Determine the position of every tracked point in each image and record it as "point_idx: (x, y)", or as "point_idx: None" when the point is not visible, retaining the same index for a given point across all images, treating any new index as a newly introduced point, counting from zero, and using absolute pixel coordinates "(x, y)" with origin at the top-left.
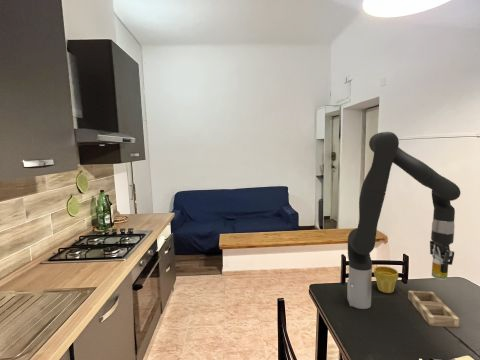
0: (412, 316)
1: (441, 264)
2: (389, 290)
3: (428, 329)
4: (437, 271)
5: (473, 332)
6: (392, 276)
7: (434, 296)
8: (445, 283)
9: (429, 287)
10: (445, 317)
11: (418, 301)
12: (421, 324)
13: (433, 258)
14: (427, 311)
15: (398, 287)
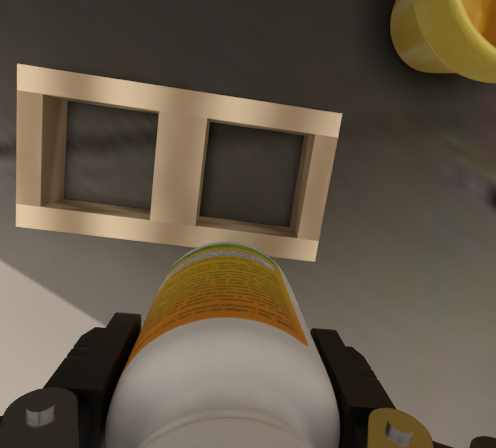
0: (128, 27)
1: (82, 380)
2: (395, 15)
3: (7, 46)
4: (168, 288)
5: (11, 259)
6: None
7: (260, 239)
8: (456, 409)
9: (427, 306)
10: (21, 157)
11: (200, 100)
12: (51, 34)
13: (365, 399)
14: (81, 87)
15: (451, 127)
